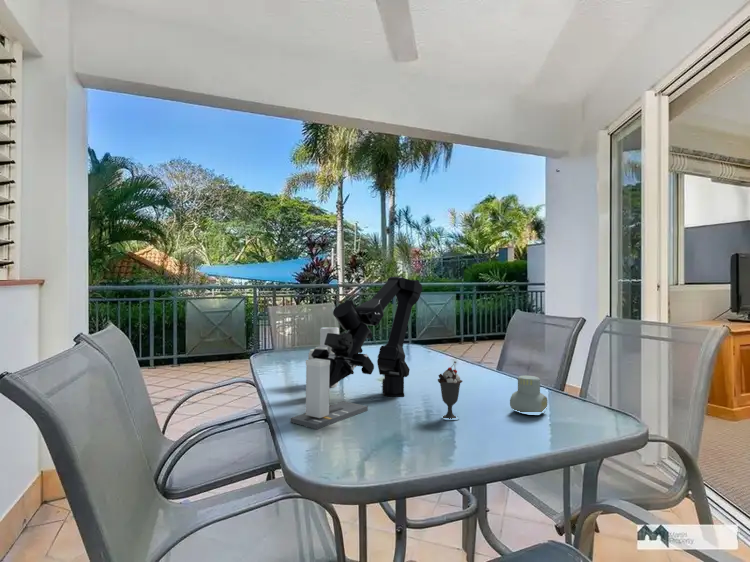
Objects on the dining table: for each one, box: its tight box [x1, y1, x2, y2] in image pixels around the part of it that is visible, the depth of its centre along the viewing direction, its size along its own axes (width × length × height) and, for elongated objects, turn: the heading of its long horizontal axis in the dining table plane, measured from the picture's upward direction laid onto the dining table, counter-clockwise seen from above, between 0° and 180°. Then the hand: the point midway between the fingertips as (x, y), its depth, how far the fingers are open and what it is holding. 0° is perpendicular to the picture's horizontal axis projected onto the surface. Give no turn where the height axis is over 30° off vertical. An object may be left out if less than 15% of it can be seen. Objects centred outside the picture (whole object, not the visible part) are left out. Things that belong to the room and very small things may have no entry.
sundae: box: [437, 361, 463, 419], centre depth 118 cm, size 7×7×15 cm
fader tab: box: [305, 358, 330, 418], centre depth 114 cm, size 4×5×14 cm
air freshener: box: [509, 375, 548, 412], centre depth 123 cm, size 11×8×10 cm
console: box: [289, 400, 369, 430], centre depth 118 cm, size 21×9×1 cm, turn 145°
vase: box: [314, 326, 340, 388], centre depth 156 cm, size 11×7×20 cm, turn 170°
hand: (327, 386), depth 117 cm, fingers closed
